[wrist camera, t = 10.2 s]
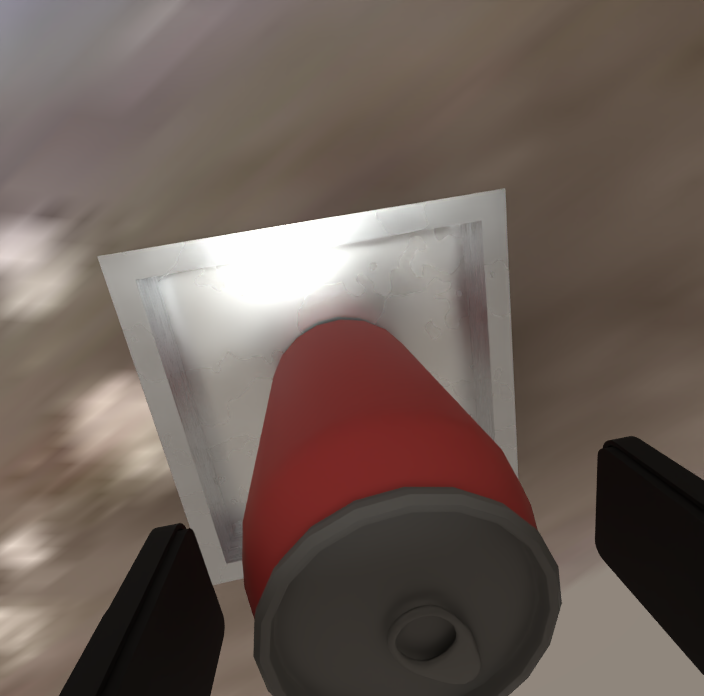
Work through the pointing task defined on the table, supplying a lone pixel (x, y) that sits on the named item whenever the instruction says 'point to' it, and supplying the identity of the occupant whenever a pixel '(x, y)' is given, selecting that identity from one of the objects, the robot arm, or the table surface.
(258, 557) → the beer can
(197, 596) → the robot arm
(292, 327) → the rimmed tray
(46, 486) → the table surface
